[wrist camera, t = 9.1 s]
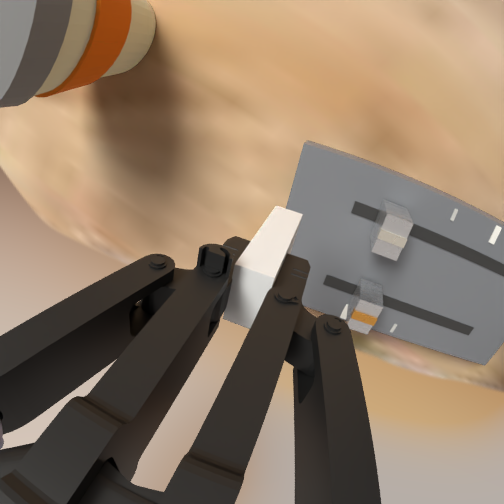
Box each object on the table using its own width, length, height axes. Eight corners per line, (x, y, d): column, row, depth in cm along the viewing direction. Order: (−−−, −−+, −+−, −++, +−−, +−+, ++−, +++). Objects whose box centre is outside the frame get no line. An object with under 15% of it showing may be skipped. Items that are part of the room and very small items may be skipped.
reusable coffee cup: (197, 6, 21) (70, -37, 9) (128, 113, 28) (0, 144, 15) (117, -33, 20) (3, -57, 8) (65, 60, 27) (-47, 75, 14)
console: (548, 248, 20) (557, 258, 18) (481, 353, 27) (485, 366, 26) (307, 140, 24) (303, 143, 23) (267, 279, 32) (261, 291, 30)
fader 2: (407, 208, 22) (414, 224, 19) (392, 242, 24) (396, 262, 21) (383, 199, 22) (387, 214, 20) (369, 233, 24) (370, 252, 21)
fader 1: (382, 285, 25) (383, 308, 23) (368, 311, 27) (367, 336, 24) (360, 277, 26) (359, 300, 23) (347, 304, 27) (345, 328, 25)
